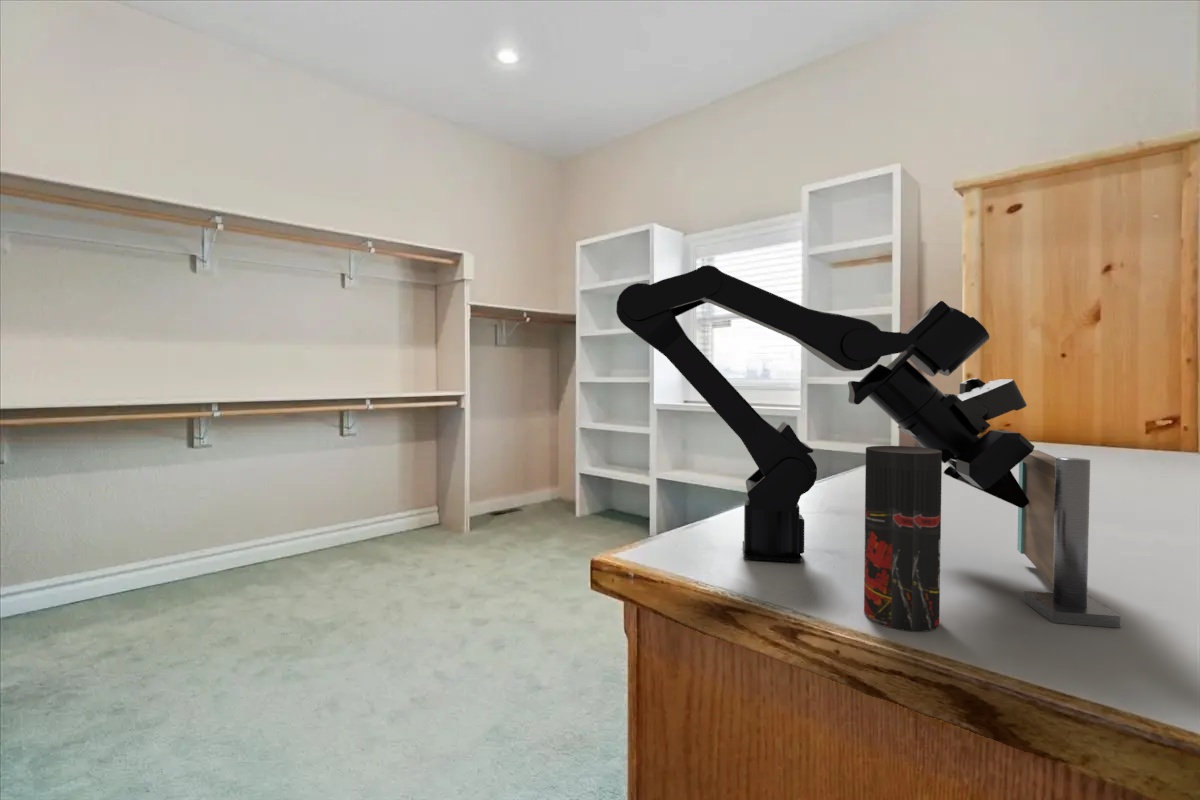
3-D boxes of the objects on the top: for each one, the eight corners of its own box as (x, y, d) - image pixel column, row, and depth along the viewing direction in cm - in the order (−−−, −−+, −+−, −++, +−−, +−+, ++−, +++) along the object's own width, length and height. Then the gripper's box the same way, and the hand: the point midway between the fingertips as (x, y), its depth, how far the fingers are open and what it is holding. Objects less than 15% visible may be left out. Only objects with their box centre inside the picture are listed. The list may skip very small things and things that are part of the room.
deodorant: (950, 634, 48) (953, 454, 47) (873, 628, 49) (875, 452, 48) (925, 606, 54) (927, 446, 53) (857, 602, 55) (858, 445, 54)
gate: (1052, 590, 54) (1054, 466, 53) (1017, 549, 67) (1019, 449, 66) (1076, 593, 53) (1079, 467, 52) (1036, 551, 66) (1038, 450, 65)
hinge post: (1052, 622, 50) (1056, 462, 49) (1023, 601, 55) (1026, 454, 54) (1120, 627, 49) (1124, 463, 48) (1084, 605, 54) (1088, 456, 53)
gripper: (1011, 349, 55) (1145, 466, 53) (942, 357, 74) (1039, 445, 71) (921, 430, 57) (1046, 546, 55) (875, 418, 76) (968, 505, 73)
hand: (1024, 504), depth 64 cm, fingers closed
